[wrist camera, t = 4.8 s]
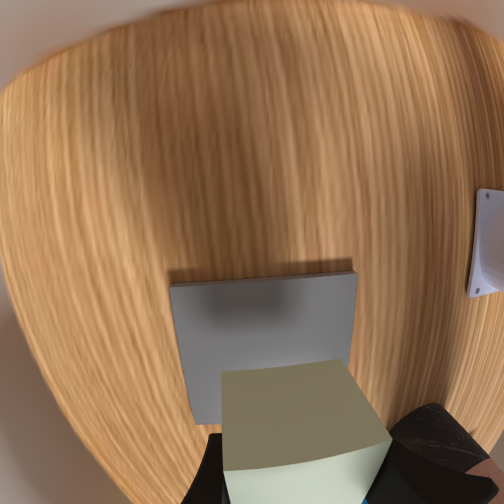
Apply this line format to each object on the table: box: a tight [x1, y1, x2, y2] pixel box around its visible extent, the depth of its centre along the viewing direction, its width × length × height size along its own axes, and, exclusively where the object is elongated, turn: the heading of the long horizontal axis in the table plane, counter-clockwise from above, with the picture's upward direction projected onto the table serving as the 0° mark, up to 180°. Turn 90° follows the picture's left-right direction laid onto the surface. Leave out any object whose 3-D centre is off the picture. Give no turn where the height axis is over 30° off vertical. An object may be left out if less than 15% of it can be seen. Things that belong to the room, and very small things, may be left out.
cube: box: [221, 358, 393, 504], centre depth 9 cm, size 5×5×5 cm
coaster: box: [169, 270, 358, 425], centre depth 16 cm, size 10×10×1 cm
